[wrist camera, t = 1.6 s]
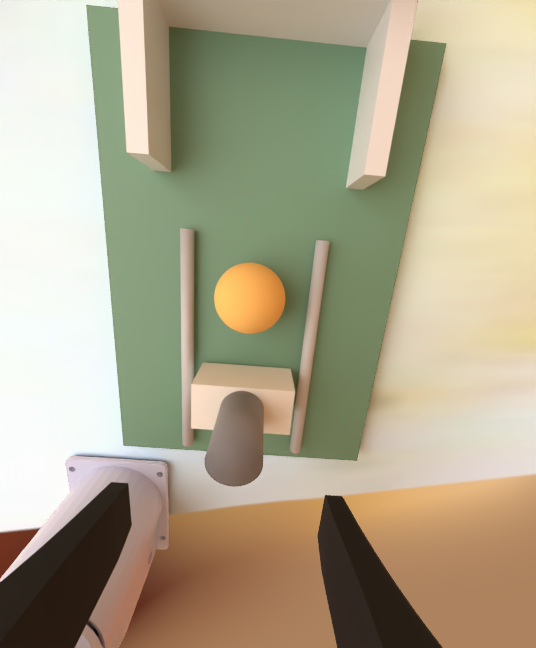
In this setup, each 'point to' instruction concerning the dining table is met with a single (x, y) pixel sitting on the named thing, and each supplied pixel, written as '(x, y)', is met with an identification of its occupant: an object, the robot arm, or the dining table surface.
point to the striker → (240, 416)
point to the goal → (276, 22)
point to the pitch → (254, 227)
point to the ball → (249, 298)
